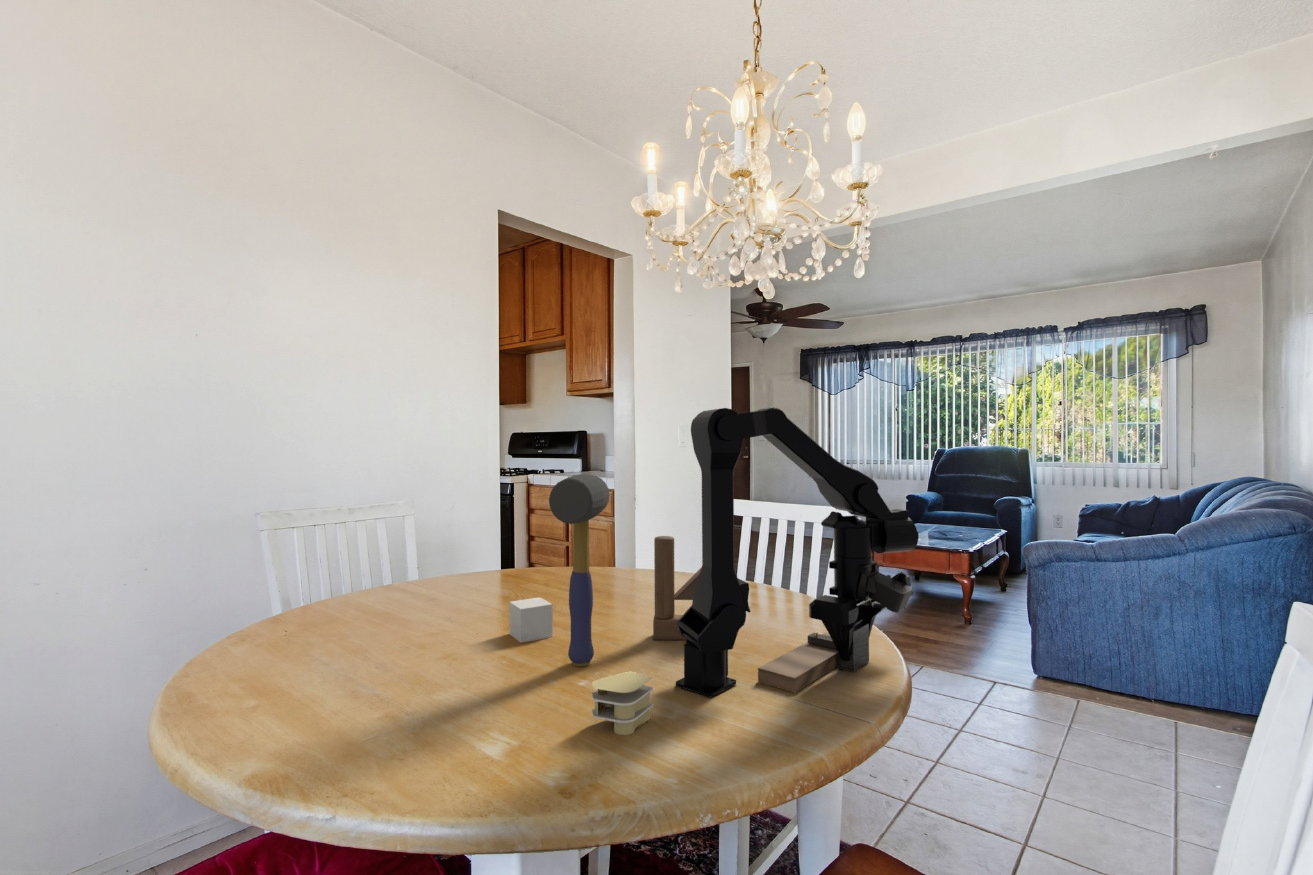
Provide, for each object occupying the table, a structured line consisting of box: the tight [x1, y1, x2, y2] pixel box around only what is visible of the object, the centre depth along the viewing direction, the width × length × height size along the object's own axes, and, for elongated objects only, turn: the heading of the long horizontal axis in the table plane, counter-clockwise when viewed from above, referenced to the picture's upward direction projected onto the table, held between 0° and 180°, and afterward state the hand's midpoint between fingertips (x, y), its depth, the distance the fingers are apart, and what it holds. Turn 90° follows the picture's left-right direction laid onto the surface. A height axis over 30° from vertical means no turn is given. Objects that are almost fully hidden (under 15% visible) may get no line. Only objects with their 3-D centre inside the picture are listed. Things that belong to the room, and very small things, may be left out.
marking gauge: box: [807, 622, 870, 673], centre depth 98 cm, size 6×9×6 cm
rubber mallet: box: [548, 473, 611, 667], centre depth 96 cm, size 12×8×30 cm, turn 171°
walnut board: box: [757, 632, 839, 693], centre depth 95 cm, size 22×6×2 cm, turn 139°
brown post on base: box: [652, 535, 702, 641], centre depth 110 cm, size 4×11×18 cm, turn 88°
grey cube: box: [508, 597, 554, 643], centre depth 111 cm, size 6×6×6 cm
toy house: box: [591, 670, 654, 736], centre depth 76 cm, size 10×9×6 cm
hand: (853, 655), depth 95 cm, fingers closed on marking gauge, 6 cm apart
